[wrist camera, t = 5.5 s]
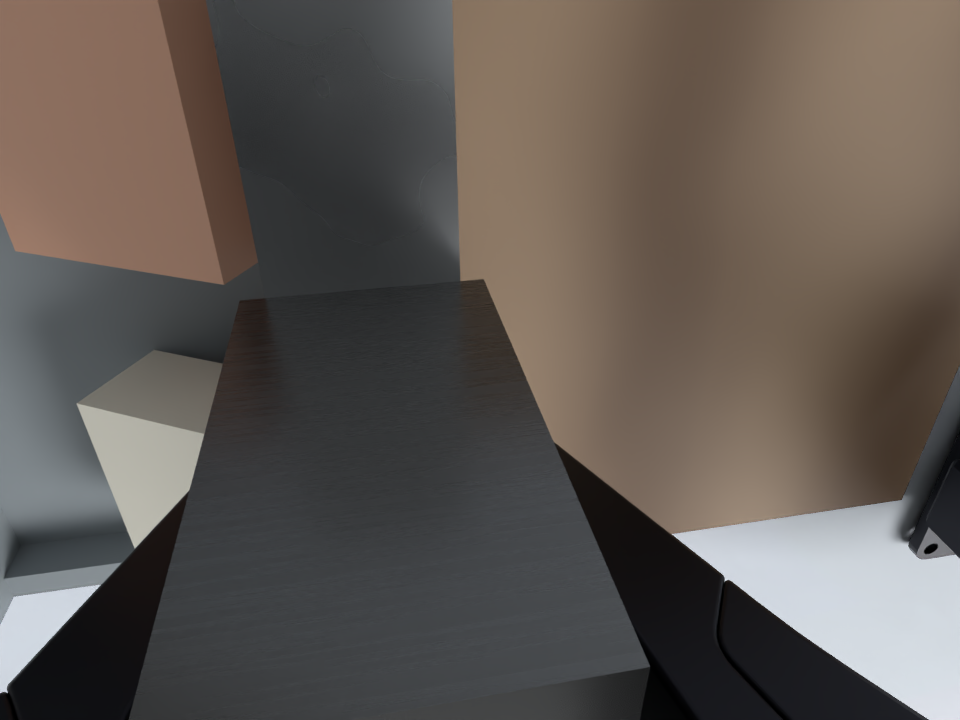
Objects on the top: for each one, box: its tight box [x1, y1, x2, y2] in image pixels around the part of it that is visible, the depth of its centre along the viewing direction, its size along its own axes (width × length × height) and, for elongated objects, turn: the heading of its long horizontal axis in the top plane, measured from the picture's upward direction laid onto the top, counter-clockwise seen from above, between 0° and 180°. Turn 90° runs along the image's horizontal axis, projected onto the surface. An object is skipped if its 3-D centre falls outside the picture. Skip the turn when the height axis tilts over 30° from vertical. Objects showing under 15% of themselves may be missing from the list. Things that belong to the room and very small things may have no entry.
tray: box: [0, 214, 265, 624], centre depth 13 cm, size 8×14×2 cm, turn 0°
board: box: [452, 0, 960, 534], centre depth 14 cm, size 14×14×2 cm
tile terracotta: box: [0, 0, 258, 285], centre depth 10 cm, size 4×4×2 cm
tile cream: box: [76, 350, 223, 548], centre depth 14 cm, size 4×4×2 cm
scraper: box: [129, 0, 650, 720], centre depth 8 cm, size 3×13×8 cm, turn 0°
